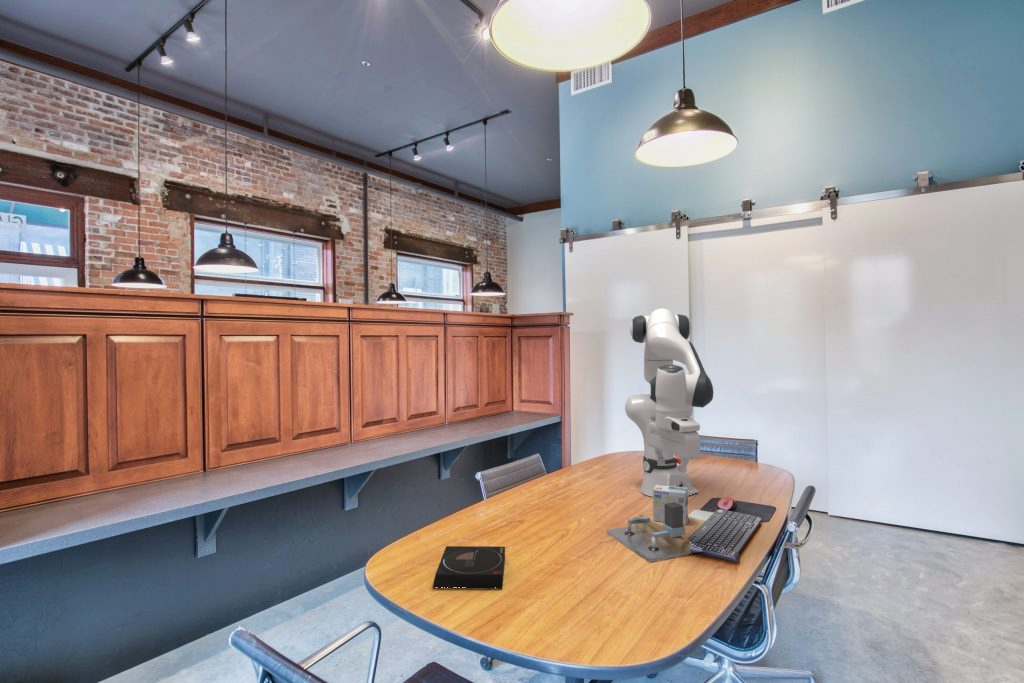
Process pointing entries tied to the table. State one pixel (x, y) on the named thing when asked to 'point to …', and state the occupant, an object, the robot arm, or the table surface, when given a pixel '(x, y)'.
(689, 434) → the robot arm
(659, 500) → the light bulb box
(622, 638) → the table surface
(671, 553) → the bolt plate
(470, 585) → the portable cd player
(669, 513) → the sliding point
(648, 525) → the rail
